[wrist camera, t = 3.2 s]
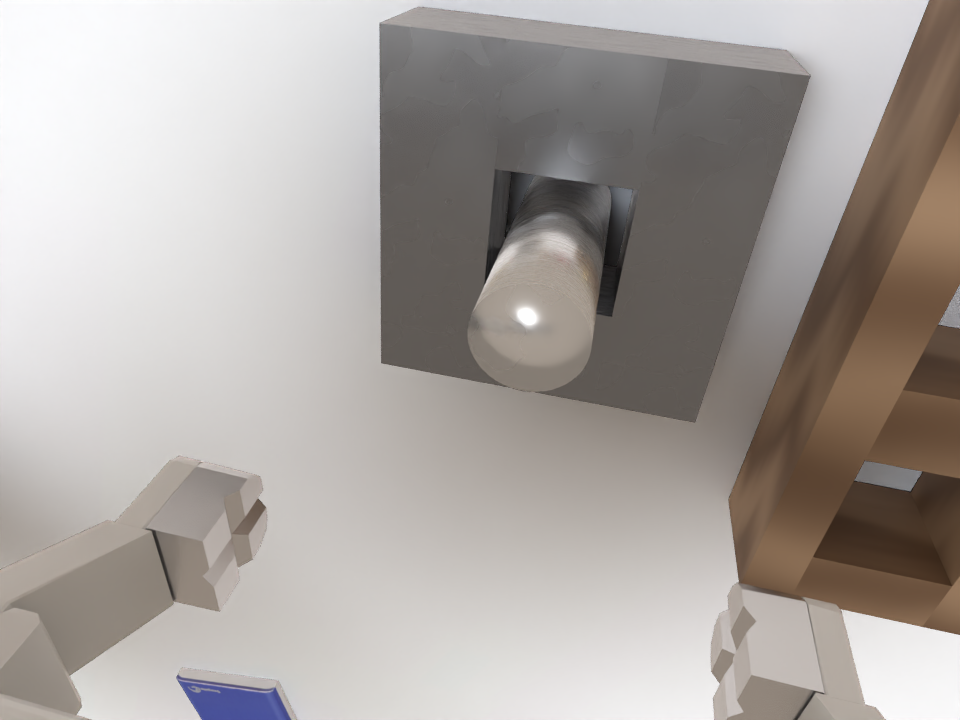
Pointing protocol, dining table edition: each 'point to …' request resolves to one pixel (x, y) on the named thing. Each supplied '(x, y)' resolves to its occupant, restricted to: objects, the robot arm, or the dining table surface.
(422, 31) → the socket block
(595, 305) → the steel peg
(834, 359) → the rack
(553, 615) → the dining table surface
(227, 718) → the hard drive
